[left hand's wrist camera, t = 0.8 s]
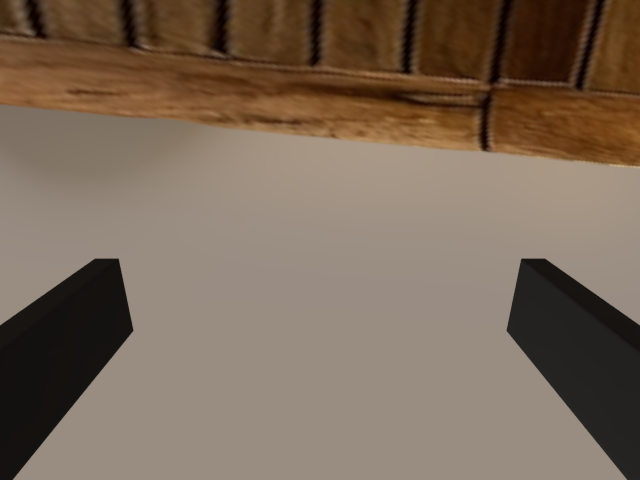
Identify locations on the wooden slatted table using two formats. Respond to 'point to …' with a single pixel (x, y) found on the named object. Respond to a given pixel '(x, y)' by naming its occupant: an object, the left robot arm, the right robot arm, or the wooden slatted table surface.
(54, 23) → the wooden slatted table surface
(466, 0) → the wooden slatted table surface
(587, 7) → the wooden slatted table surface
